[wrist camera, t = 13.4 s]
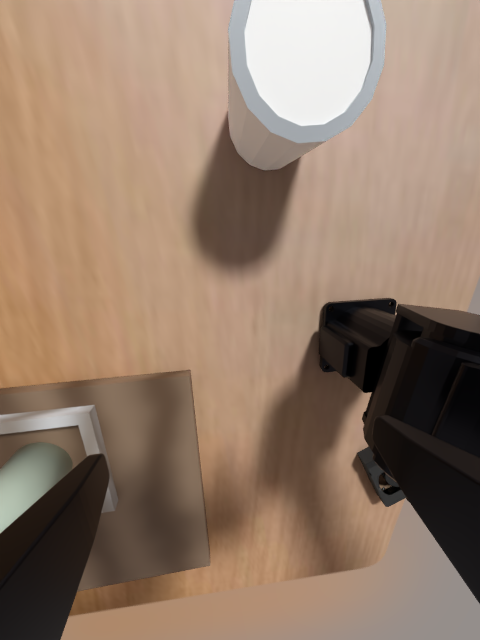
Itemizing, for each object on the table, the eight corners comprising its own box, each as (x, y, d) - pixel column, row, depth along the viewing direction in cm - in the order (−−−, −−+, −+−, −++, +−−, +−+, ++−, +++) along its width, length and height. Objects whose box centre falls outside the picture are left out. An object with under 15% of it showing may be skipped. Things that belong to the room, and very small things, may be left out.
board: (190, 370, 21) (188, 382, 19) (210, 554, 28) (210, 576, 27) (-75, 395, 19) (-106, 412, 17) (20, 590, 26) (6, 617, 24)
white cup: (325, 71, 16) (407, -47, 10) (308, 186, 18) (367, 153, 12) (221, 49, 15) (235, -101, 9) (215, 173, 17) (222, 129, 11)
